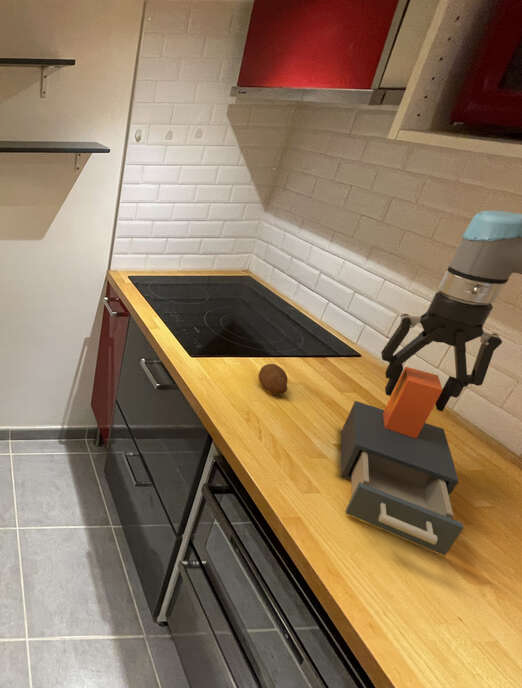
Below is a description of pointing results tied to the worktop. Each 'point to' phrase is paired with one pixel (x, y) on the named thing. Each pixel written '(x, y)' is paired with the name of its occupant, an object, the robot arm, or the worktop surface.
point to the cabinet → (395, 445)
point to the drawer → (403, 502)
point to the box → (412, 402)
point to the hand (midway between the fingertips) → (412, 399)
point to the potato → (273, 379)
